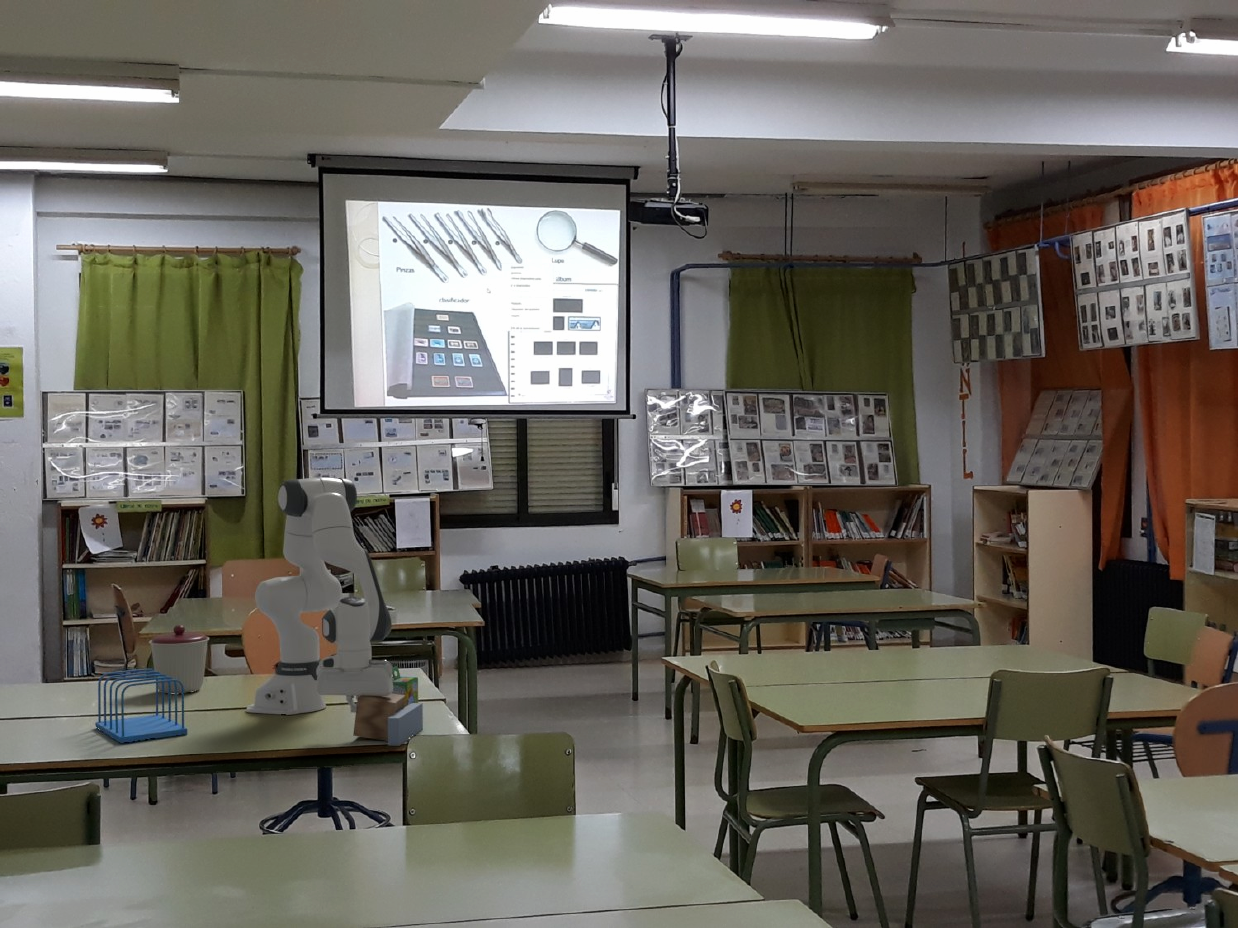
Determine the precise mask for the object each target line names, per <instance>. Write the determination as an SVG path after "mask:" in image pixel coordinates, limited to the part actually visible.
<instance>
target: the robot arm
mask: <svg viewBox="0 0 1238 928" xmlns="http://www.w3.org/2000/svg"><path fill="white" fill-rule="evenodd" d="M357 494H358V493H357V488H356V485H355V484H354V482H353V481H352V480H350V479H348V478H344V477H343V478H342V477H339V478H336V477H324V476H323V477H321V476H320V477H319V476H318V477H309V478H299V479H298V478H292V479H287V480H284V481H283V482H282V484H281V485H280V486H279V490H278V494H277V495H278V496H277V501H278V506H279V509H280V511H281V512H282V513H283V514H284V515H286V519H285V525H284V526H285V527H284V536H283V537H284V539H283V548H282V549H283V550H282V553H283V556H284V558H285V560H286V561H287V562H289V563H290V564H292V565H294V566H296V567H297V568H298V567H299V574H298V575H290V576H289V575H288V576H278V577H273V578H270V579H266V580H263V581H261V582H260V583H259V584H258V585H257V587H256V590H255V593H254V601H255V604H256V607H257V609H258V610H259V611H260V612H261V613H262V614H264V615H265V616H266V617H268V618H269V619H270V621H271V622H272V623H273V624H274V626H275V628H276V631H277V633H278V637H279V639H278V640H279V650H280V651H279V652H280V660H279V661H278V662H276V663H274V664H273V665H272V670H274V673H273V675H272V676H271V677H270V678H268V679H266V680H265V682H263V683H262V684H261V685H259V687H258V688H257V689H256V691H255V696H254V702H253V703H252V704H249V705H248V706H247V707H246V712H247V713H252V714H256V713H257V714H269V715H281V714H286V716H289V715H297V714H302V713H303V714H305V713H311V712H315V711H316V712H317V711H321V710H323V709H326V707H327V704H326V701H325V698H324V696H345V699H346V703H347V704H348V706H349V707H350V713H354V714H356V708H357V702H356V704H355V701H354V700H353V699H354V698H355V699H356V701H357V699H358V697H359V696H361V695H364V696H388V695H390V694H391V693H392V692H393V681H392V677H393V675H392V668H393V666H392V664H391V662H389V661H387V659H382V660H381V659H380V660H379V659H372V658H373V657H372V644H371V643H381V642H382V641H384V640H385V639H386V638H387V637H388V635H390V633H391V631H392V617H391V614H390V612H389V609H388V606H387V605H386V602H385V600H384V596H383V593H382V590H381V586H380V583H379V579H378V577H377V573H376V570H375V567H374V564H373V561H372V558H371V555H370V553H369V552H368V550H367V549H366V548H363V547H362V546H361V545H360V543H359V542H358V540H357V539H356V536H355V533H354V526H353V520H352V516H351V512H352V511H354V509H355V508H356V506H357V500H358V495H357ZM326 563H327V564H329V565H332V566H335V567H338V568H341V569H344V570H346V571H349V572H351V573H352V574H353V575H355V576H356V577H357V579H358V580H359V584H360V587H361V590H362V594H363V596H364V597H357V596H346V597H343V598H342V596H343V589H342V588H343V587H342V584H341V583H340V581H339V579H338V578H337V577H336V576H335V575H334V574H332V573H331V572H330V571H329V569H328V568H327V565H326ZM326 610H327V611H326ZM322 611H323V612H324V611H326V613H325V614H324V615H323V616H322V618H321V631H322V632H321V634H322V637H323V638H324V639H325V640H326V641H327V642H328V643H330V644H335V645H336V644H337V648H336V650H337V651H336V653H334V654H331V655H329V656H327V657H324V658H322V659H321V658H320V635H319V632H318V631H317V630H316V628H314V627H312V626H310V625H308V624H305V623H303V621H302V618H301V616H302V615H301V614H305V613H313V612H322Z"/></svg>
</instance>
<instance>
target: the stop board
mask: <svg viewBox="0 0 1238 928" xmlns="http://www.w3.org/2000/svg"><path fill="white" fill-rule="evenodd" d="M423 705H424V703H422V702H418V703H411V704H409V705H408V706H406V707H405V708H403V709H401V710H400V711H398V712H396V713H395V714H393V715H392V716H390V717H388V741H387V746H393V747H394V746H397V747H398V746H401V745H403V744H404V743H405V742H407V741H408V740H409V739H408V738H409V737H411V736H412V735H414V734H415V735H416V734H418V733H419V731H420V732H421V731H422V730H423V729H424V726H423V725H424V720H423V719H424V717H423V716H424V713H423V710H424V709H423V708H424V706H423ZM415 735H414V736H415ZM412 737H413V736H412ZM412 737H411V738H412ZM407 739H408V740H407Z"/></svg>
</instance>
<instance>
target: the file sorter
mask: <svg viewBox="0 0 1238 928" xmlns="http://www.w3.org/2000/svg"><path fill="white" fill-rule="evenodd" d="M109 675H110V676H109ZM107 676H109V677H107ZM155 676H156V677H155ZM158 676H161V677H158ZM163 676H164V677H163ZM105 677H107V678H106V679H105V681H104V683H103V721H102V719H101V718H102V715H101V714H102V713H101V711H102V709H101V705H102V703H101V702H102V701H101V693H102V692H101V691H102V690H101V687H102V686H101V685H102V684H101V683H102V681H103V678H105ZM111 679H114V680H113V681H112V682H111V684H110V686H109V720H107V684H108V682H109V681H110V680H111ZM158 679H162V681H158ZM164 679H167V680H164ZM170 679H171V680H170ZM118 681H122V682H120V683H118V685H117V686H116V687H115V691H114V706H115V707H114V708H115V709H114V711H115V713H114V714H115V715H114V716H115V717H114V718H115V719H113V686H114V685H115V684H116V683H117V682H118ZM164 682H168V694H167V695H168V717H166V716H165V693H164ZM170 682H174V685H175V694H174V720H172V714H171V713H172V697H171V695H172V694H171V683H170ZM176 682H178V683H179V684H180V685H181V690H182V694H181V724H180V723H178V694H177V683H176ZM130 683H131V684H130ZM158 683H162V692H161V714H159V689H158ZM124 684H127V685H126V686H125V687H123V689H122V691H121V694H120V695H121V696H120V700H121V701H120V705H121V706H120V707H121V708H120V709H121V711H120V712H121V715H120V716H121V718H119V717H118V716H119V714H118V712H119V711H118V710H119V709H118V705H119V704H118V690H119V688H121V686H122V685H124ZM153 684H155V714H151V715H150V714H149V715H141V716H134V717H133V716H132V717H125V714H124V713H125V710H124V709H125V708H124V707H125V706H124V703H125V702H124V697H125V692H126V690H128V688H130V687H135V686H142V685H153ZM97 691H98V692H97V695H98V698H97V699H98V702H97V704H98V705H97V706H98V709H97V710H98V711H97V713H98V714H97V715H98V721H96V722H95V723H94V724H95V726H96V727H97V728H99V729H100V730H101V731H103V732H104V733H103V732H102V733H103V734H105V733H106V734H108V735H109V736H108V735H107V736H108V737H110V738H111V739H113V738H114V739H115V740H114V739H113V740H114V741H116V742H118V743H119V742H120V743H119V744H125V743H124V742H129V743H134V742H133V741H135V742H139V741H138V740H140V741H146V740H145V739H148V740H151V739H150V738H155V739H161V738H167V737H168V738H169V737H177V736H176V735H180V736H183V735H182V734H185V735H188V728H187V727H186V726H185V694H184V687H183V684H182V683H181V682H180V681H179V680H175V679H173V678H171V677H168V676H167V675H165V674H161V673H159V672H157V671H154V668H143V669H142V668H140V669H130V670H121V671H111V672H105V673H103V674H102V675H101V676H100V677H99V679H98V685H97ZM95 726H94V727H95ZM97 728H96V729H97ZM100 730H99V731H100ZM101 731H100V732H101ZM106 734H105V735H106Z"/></svg>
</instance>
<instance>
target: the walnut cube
mask: <svg viewBox="0 0 1238 928" xmlns="http://www.w3.org/2000/svg"><path fill="white" fill-rule="evenodd" d="M356 703H357V708H356V713H355V718H354V724H353V725H354V726H353V732H352V735H353V737H360V738H364V739H365V738H366V739H374V740H380V741H381V740H382V741H386V742H388V717H390V716H392V715H393V714H395V713H396V712H398V711H400V710H401V709H403V708H404V703H405V695H399V694H392V693H391V694H390V695H388V696H364V695H361V696H359V697H358V699H357V700H356Z"/></svg>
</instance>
